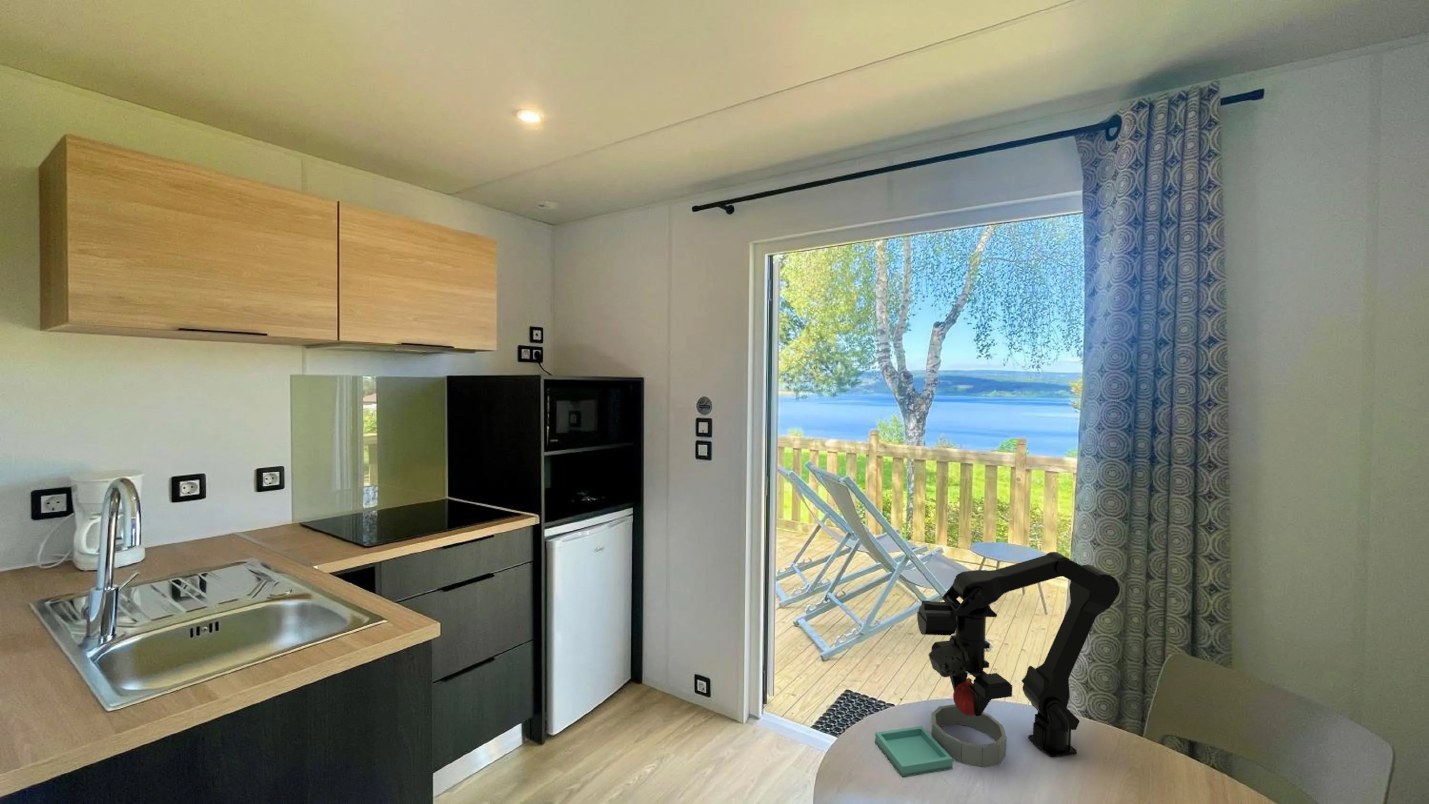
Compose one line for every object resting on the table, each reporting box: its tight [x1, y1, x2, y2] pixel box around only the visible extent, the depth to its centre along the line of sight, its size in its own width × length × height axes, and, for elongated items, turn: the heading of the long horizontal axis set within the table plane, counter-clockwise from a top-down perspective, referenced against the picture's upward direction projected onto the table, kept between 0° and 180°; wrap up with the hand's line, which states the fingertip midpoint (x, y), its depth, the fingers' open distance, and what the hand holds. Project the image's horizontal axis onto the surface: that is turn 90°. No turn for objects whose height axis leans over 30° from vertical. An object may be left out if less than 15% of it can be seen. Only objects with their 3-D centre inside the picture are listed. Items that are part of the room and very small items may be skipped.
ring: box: [930, 703, 1008, 768], centre depth 119 cm, size 14×14×4 cm
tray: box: [874, 725, 954, 778], centre depth 116 cm, size 11×11×2 cm
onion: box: [952, 677, 975, 716], centre depth 119 cm, size 6×6×8 cm
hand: (967, 706), depth 119 cm, fingers closed on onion, 6 cm apart
